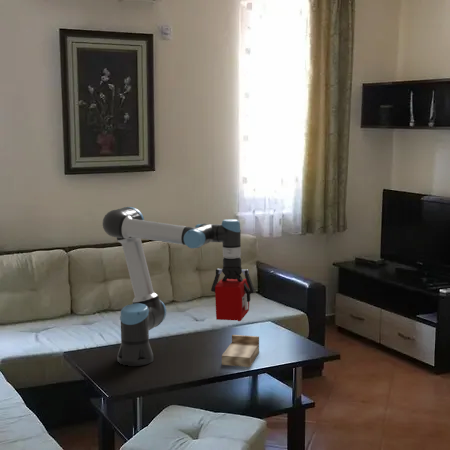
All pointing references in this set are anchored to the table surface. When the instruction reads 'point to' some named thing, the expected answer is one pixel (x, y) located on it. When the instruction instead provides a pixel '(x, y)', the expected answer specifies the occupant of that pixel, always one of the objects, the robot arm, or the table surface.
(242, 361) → the wooden toy bed
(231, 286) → the fire alarm
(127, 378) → the table surface
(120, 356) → the robot arm
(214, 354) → the table surface
